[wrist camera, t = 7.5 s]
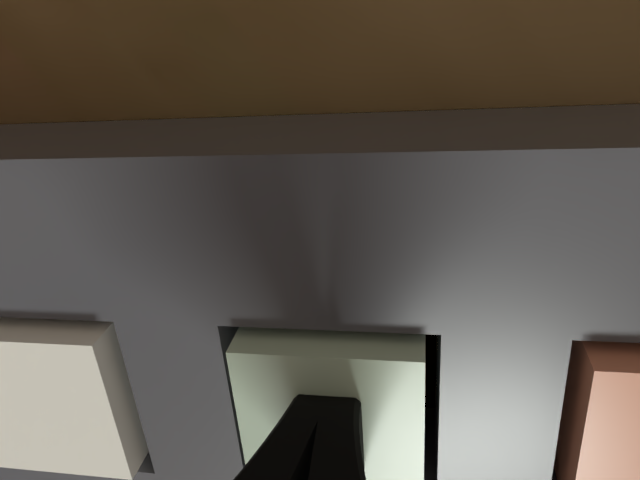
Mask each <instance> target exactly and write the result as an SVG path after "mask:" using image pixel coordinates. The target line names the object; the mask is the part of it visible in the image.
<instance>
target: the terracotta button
mask: <svg viewBox="0 0 640 480" xmlns="http://www.w3.org/2000/svg"><path fill="white" fill-rule="evenodd" d="M554 469H555V473H556V477H557V480H640V343H628V342H603V341H578V340H572V346H571V353H570V359H569V366H568V373H567V379H566V386H565V393H564V400H563V406H562V413H561V420H560V426H559V433H558V440H557V446H556V453H555V460H554Z"/></svg>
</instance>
